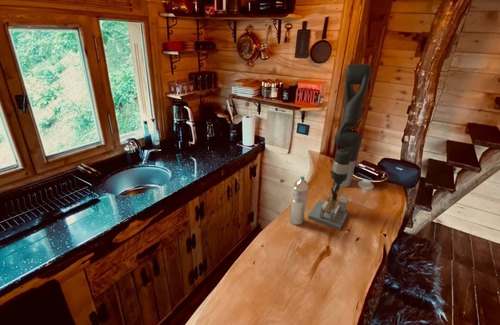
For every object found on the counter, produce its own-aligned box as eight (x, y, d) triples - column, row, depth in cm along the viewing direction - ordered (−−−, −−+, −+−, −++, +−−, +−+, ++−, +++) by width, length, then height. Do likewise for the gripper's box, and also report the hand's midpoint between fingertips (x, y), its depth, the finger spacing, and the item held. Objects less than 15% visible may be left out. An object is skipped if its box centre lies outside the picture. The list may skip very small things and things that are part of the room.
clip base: (318, 203, 150) (320, 191, 147) (348, 213, 143) (351, 200, 139) (307, 218, 138) (310, 205, 134) (339, 230, 130) (342, 216, 127)
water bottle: (292, 215, 140) (298, 172, 129) (305, 220, 136) (312, 176, 125) (287, 222, 134) (292, 178, 123) (300, 227, 131) (307, 182, 120)
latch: (340, 198, 141) (341, 193, 140) (347, 200, 140) (349, 195, 138) (338, 200, 139) (339, 195, 138) (346, 203, 137) (347, 198, 136)
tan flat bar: (331, 199, 144) (331, 197, 143) (337, 201, 142) (337, 199, 142) (323, 211, 133) (323, 210, 133) (329, 213, 132) (329, 212, 131)
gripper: (336, 162, 141) (331, 190, 149) (328, 173, 131) (323, 202, 139) (351, 166, 137) (345, 194, 146) (344, 177, 127) (337, 207, 136)
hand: (334, 198), depth 142 cm, fingers closed
